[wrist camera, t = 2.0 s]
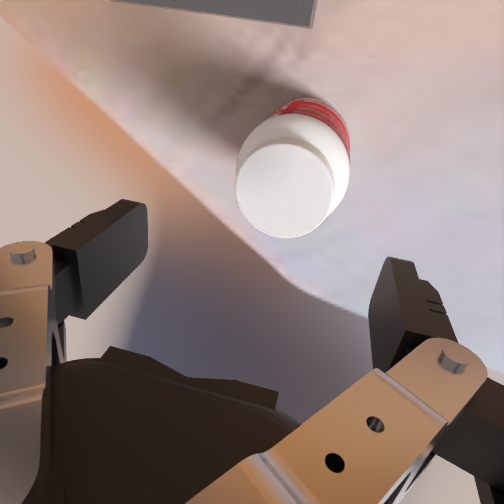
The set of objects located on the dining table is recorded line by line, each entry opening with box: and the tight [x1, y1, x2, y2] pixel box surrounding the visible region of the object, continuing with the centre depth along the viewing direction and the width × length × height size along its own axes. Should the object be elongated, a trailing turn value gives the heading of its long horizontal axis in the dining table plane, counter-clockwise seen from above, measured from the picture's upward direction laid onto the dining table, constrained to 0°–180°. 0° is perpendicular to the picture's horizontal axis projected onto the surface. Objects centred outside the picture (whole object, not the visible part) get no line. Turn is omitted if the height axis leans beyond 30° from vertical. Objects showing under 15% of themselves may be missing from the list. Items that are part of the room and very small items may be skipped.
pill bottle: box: [235, 98, 350, 238], centre depth 22 cm, size 6×6×11 cm
